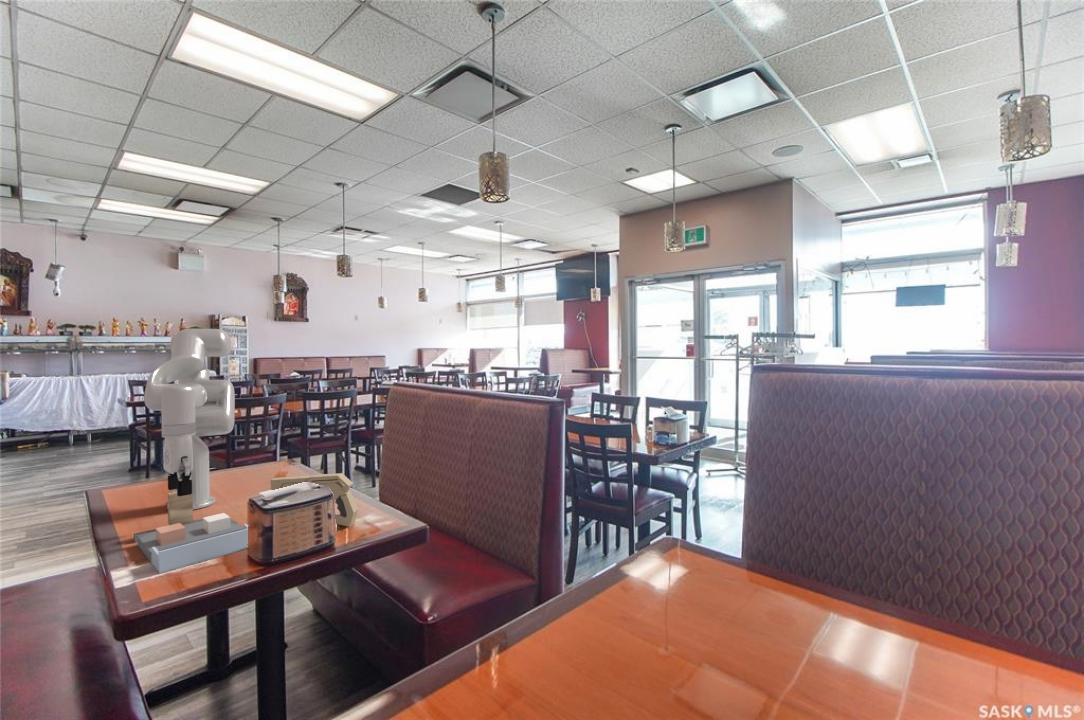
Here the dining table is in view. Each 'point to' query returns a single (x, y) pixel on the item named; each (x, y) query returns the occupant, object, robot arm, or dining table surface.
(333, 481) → the gun
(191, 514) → the scraper
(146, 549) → the board
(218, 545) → the box
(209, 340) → the robot arm
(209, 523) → the tile cream
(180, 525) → the tile terracotta
